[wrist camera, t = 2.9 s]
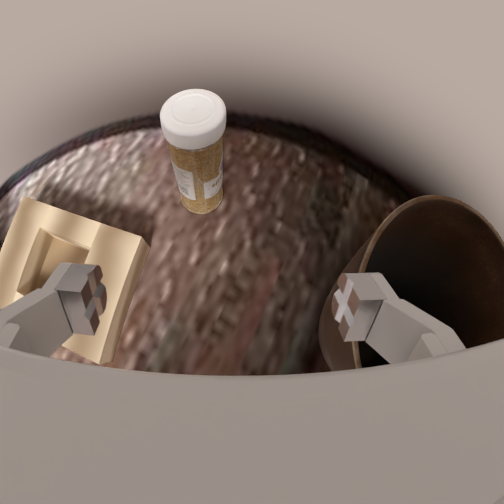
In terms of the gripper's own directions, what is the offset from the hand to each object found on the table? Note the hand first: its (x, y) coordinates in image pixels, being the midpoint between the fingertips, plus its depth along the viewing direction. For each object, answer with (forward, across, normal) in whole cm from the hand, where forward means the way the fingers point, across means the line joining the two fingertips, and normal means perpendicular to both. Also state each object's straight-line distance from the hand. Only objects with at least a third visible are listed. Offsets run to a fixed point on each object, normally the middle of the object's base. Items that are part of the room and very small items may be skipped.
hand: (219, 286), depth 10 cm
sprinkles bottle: (+22, +2, +5) cm, 23 cm away
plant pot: (+12, -14, +14) cm, 23 cm away
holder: (+15, +16, +12) cm, 25 cm away
